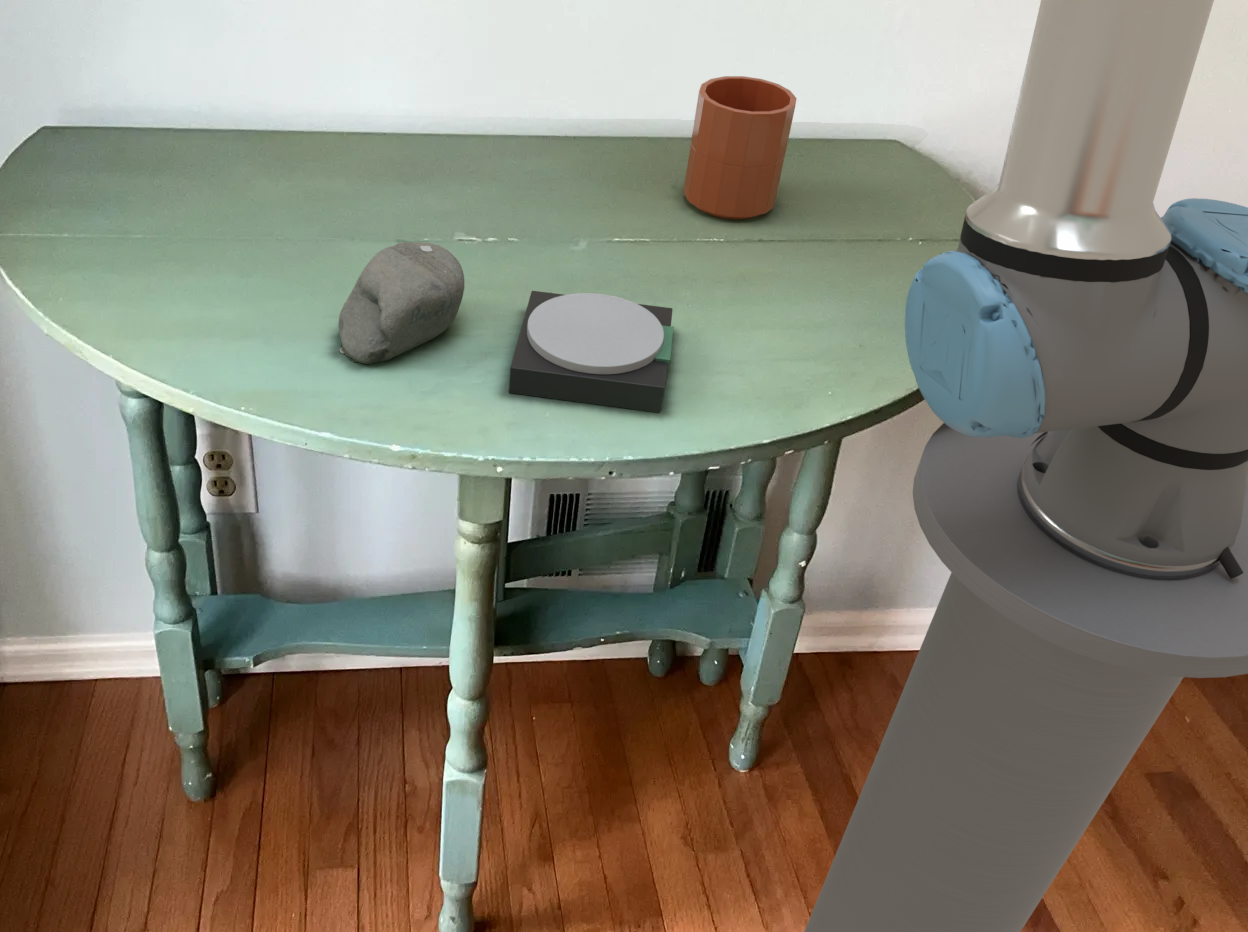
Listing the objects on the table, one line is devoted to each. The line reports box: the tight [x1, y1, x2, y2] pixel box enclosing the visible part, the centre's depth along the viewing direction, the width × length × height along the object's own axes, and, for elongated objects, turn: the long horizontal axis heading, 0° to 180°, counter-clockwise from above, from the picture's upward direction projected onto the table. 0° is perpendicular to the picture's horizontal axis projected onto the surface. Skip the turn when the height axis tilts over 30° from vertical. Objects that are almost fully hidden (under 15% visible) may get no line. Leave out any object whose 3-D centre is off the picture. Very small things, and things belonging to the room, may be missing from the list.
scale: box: [508, 290, 674, 413], centre depth 96 cm, size 12×12×3 cm
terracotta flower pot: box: [682, 75, 797, 220], centre depth 117 cm, size 9×9×11 cm
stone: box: [337, 241, 465, 365], centre depth 98 cm, size 9×9×10 cm
